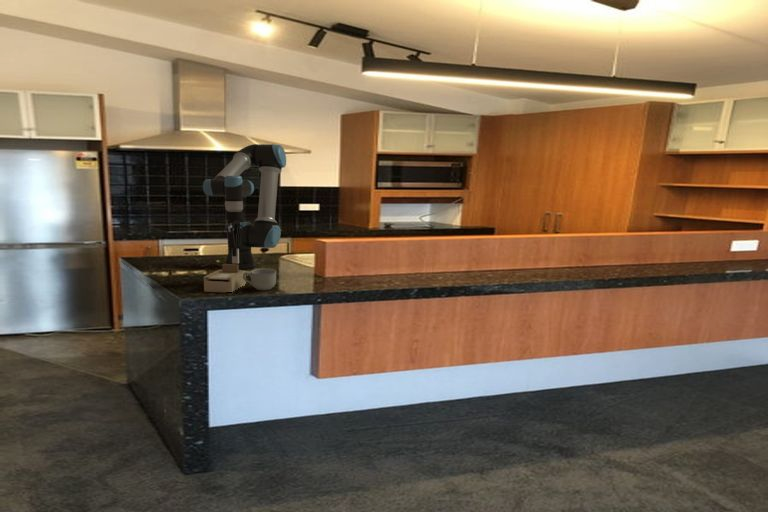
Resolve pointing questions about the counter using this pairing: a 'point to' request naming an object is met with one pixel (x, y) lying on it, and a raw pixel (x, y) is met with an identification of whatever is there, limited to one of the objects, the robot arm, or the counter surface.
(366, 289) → the counter surface
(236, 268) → the lid
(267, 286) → the teacup
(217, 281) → the box
